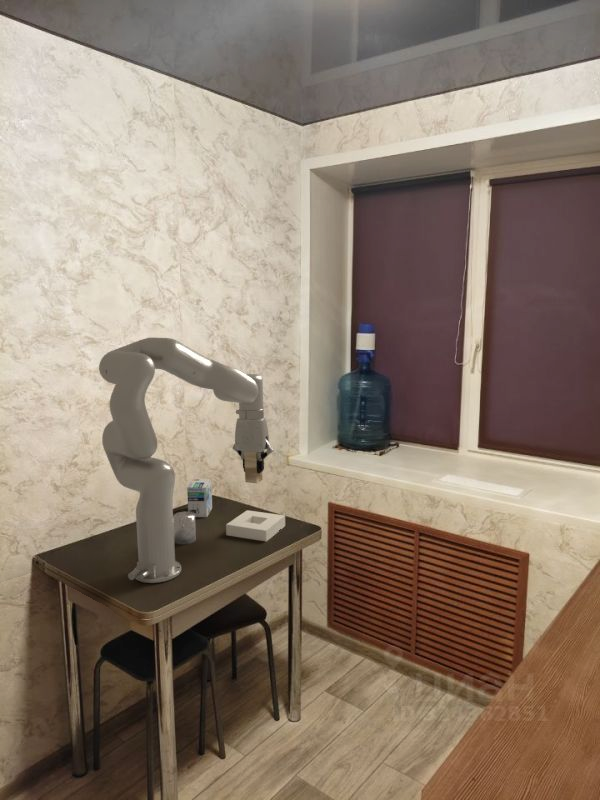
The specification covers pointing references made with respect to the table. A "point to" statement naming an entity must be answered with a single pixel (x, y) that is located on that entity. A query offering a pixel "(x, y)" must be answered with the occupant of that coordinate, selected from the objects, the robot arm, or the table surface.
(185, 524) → the clear glass cup
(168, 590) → the table surface
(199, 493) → the light bulb box
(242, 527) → the socket block
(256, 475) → the square peg
